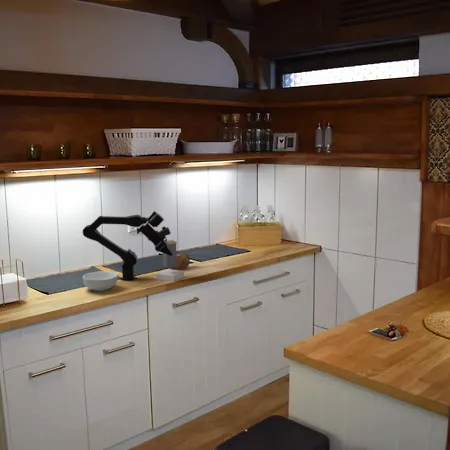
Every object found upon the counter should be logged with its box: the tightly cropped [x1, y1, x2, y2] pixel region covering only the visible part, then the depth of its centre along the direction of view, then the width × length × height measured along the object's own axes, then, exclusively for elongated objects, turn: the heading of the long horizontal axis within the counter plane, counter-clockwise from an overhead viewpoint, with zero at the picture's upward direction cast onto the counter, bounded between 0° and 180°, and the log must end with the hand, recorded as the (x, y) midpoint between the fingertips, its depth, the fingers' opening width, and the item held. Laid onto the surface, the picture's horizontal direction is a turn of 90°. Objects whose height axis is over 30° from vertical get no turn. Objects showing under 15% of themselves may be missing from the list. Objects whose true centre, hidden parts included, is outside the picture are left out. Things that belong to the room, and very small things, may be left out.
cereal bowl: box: [82, 270, 118, 292], centre depth 271 cm, size 17×17×7 cm
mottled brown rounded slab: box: [169, 253, 191, 271], centre depth 310 cm, size 15×3×8 cm, turn 143°
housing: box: [162, 239, 178, 269], centre depth 290 cm, size 6×6×13 cm
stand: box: [155, 268, 185, 282], centre depth 292 cm, size 11×11×3 cm
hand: (172, 253), depth 290 cm, fingers closed on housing, 7 cm apart
